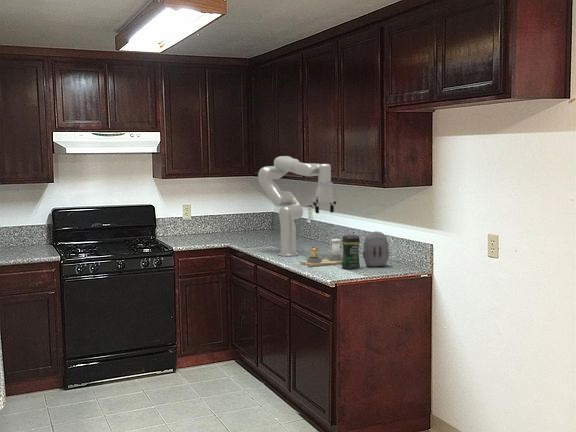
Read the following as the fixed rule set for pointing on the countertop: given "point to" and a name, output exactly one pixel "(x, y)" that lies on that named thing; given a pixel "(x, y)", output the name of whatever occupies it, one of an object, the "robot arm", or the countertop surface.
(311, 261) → the socket
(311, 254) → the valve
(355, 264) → the coffee jar
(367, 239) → the grey rounded bag
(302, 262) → the board
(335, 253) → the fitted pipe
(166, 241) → the countertop surface
